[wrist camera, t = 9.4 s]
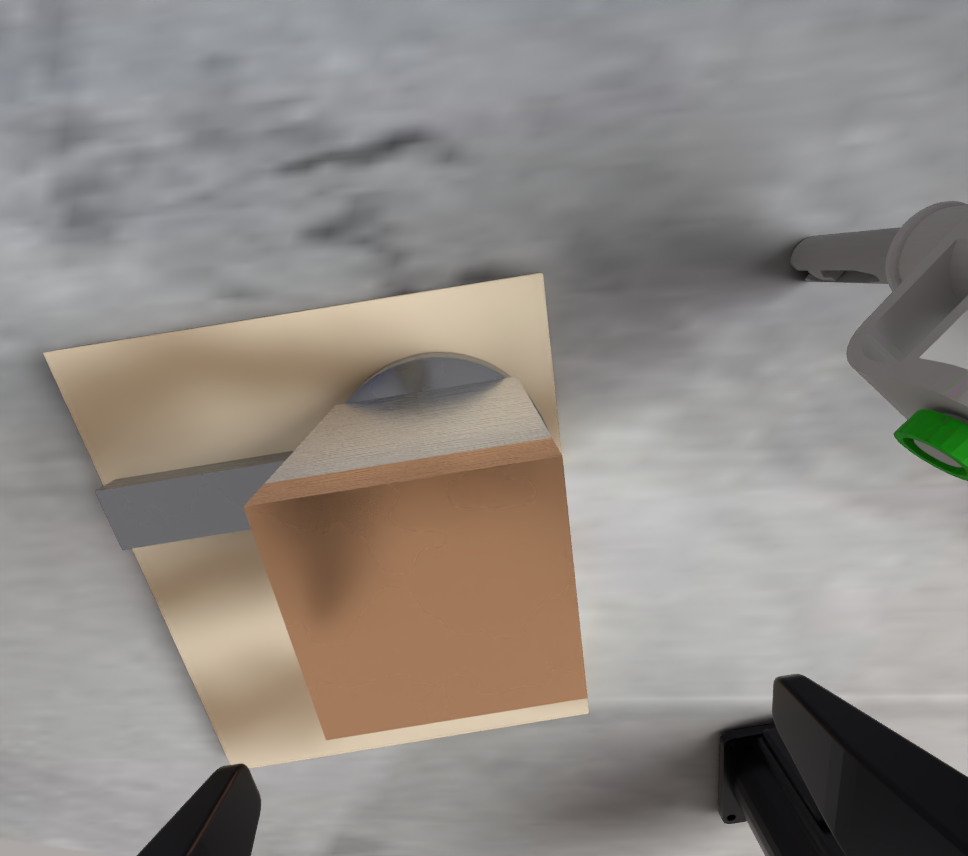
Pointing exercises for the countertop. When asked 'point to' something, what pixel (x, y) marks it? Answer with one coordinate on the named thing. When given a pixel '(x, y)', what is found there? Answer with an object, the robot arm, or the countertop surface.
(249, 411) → the workboard
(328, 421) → the tan box
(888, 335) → the mechanical component
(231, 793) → the robot arm
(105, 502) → the grey frying pan
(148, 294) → the countertop surface
